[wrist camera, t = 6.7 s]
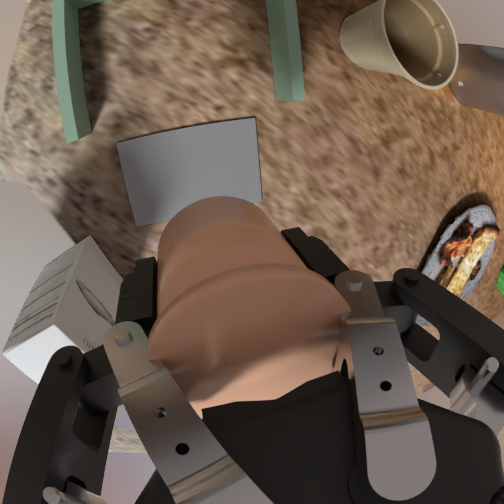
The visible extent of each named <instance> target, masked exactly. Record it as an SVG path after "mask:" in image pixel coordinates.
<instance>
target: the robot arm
mask: <svg viewBox="0 0 504 504" xmlns="http://www.w3.org/2000/svg"><path fill="white" fill-rule="evenodd" d="M458 53H459V55H458V64H457V68H456V72H455V74H454V76H453V78H452V79H451V81H450V82H449V84H450V87H451V90H452V92H453V94H454V96H455V97H456V99H457V100H458V101H459V102H460V103H461V104H463V105H464V106H468V107H472V108H476V109H480V110H483V111H486V112H490V113H493V114H496V115H500V116H503V117H504V48H499V47H491V46H483V45H473V44H458ZM281 234H282V235H283V237H284V238H285V239H286V241H287V242H288V243H289V244H290V246H291V247H292V248H293V250H294V251H295V252H296V254H297V255H298V256H299V258H300V259H301V260H302V262H303V263H304V264H305V266H306V267H307V268H308V269H309V270H312V271H314V272H316V273H318V274H320V275H321V276H323V277H325V278H326V279H327V280H328V281H329V282H331V283H332V284H333V286H334V287H335V288H336V289H337V290H338V292H339V293H340V294H341V296H342V297H343V298H344V299H345V301H346V302H347V303H348V305H349V307H350V309H351V311H348V312H345V313H342V314H340V318H339V324H338V328H339V347H338V352H337V357H336V358H335V359H332V362H331V367H330V369H331V373H329V374H326V375H324V376H321V377H318V378H315V379H312V380H309V381H307V382H305V383H303V384H302V385H300V386H298V387H297V388H295V389H293V390H292V391H290V392H288V393H286V394H285V395H283V396H281V397H279V398H277V399H274V400H260V401H236V402H231V403H227V404H222V405H218V406H213V407H208V408H203V409H201V410H202V415H203V419H201V418H200V417H199V416H198V414H197V413H196V411H195V410H194V409H193V407H192V406H191V404H190V403H189V401H188V400H187V398H186V397H185V395H184V394H183V393H182V391H181V390H180V388H179V386H178V385H177V383H176V382H175V380H174V379H173V377H172V376H171V374H170V373H169V371H168V369H167V368H166V367H165V366H164V365H163V364H162V362H161V361H160V359H156V360H150V361H148V353H147V343H148V338H149V334H150V332H151V329H152V327H153V325H154V323H155V321H156V320H157V261H156V259H155V257H149V258H144V259H140V260H137V261H136V269H135V273H133V274H128V275H127V276H126V277H125V278H124V280H123V281H122V283H121V286H120V294H119V299H118V300H119V301H118V305H117V312H116V319H115V325H114V326H112V327H111V328H110V329H109V330H108V331H107V332H106V334H105V335H104V338H103V344H102V345H101V346H99V347H97V348H95V349H92V350H90V351H88V352H86V353H82V351H81V350H80V349H79V348H78V347H76V346H72V345H69V346H65V347H62V348H60V349H58V350H57V351H56V352H55V353H54V354H53V355H52V356H51V358H50V360H49V362H48V364H47V366H46V369H45V371H44V373H43V375H42V378H41V380H40V383H39V385H38V388H37V390H36V392H35V395H34V397H33V400H32V403H31V405H30V408H29V410H28V413H27V416H26V419H25V421H24V425H23V427H22V430H21V433H20V436H19V439H18V443H17V446H16V449H15V452H14V456H13V459H12V463H11V467H10V471H9V475H8V479H7V483H6V488H5V493H4V498H3V503H2V504H106V502H105V501H104V499H103V498H102V497H101V490H102V483H103V477H104V471H105V466H106V460H107V455H108V450H109V445H110V440H111V435H112V430H113V426H114V421H115V417H116V412H117V408H118V406H119V405H122V404H124V406H125V409H126V411H127V413H128V415H129V418H130V420H131V421H132V424H133V426H134V428H135V430H136V432H137V434H138V436H139V438H140V440H141V442H142V443H143V445H144V447H145V449H146V451H147V453H148V455H149V456H150V458H151V460H152V462H153V463H154V465H155V467H156V470H155V472H154V473H153V475H152V477H151V478H150V480H149V481H148V483H147V485H146V486H145V488H144V489H143V491H142V492H141V494H140V496H139V497H138V499H137V500H136V502H135V504H504V473H503V469H502V461H501V450H500V445H499V441H498V439H497V435H498V434H499V432H500V431H501V429H502V427H503V426H504V330H503V329H502V328H501V327H499V326H498V325H496V324H495V323H494V322H492V321H491V320H490V319H488V318H487V317H486V316H484V315H483V314H482V313H480V312H479V311H477V310H476V309H475V308H473V307H472V306H470V305H469V304H468V303H466V302H465V301H463V300H462V299H460V298H459V297H457V296H456V295H455V294H453V293H452V292H450V291H449V290H447V289H446V288H444V287H443V286H441V285H440V284H438V283H437V282H435V281H434V280H432V279H431V278H429V277H428V276H426V275H425V274H423V273H421V272H420V271H418V270H415V269H411V268H402V269H399V270H397V271H396V272H395V273H394V276H393V280H392V281H383V282H373V280H372V278H371V277H370V276H369V275H367V274H365V273H363V272H360V271H355V270H350V269H349V268H348V267H347V266H346V265H345V264H344V263H343V262H342V261H341V260H340V259H339V258H338V257H337V256H336V254H334V252H333V251H332V250H331V249H329V247H328V246H327V245H326V244H325V243H324V242H323V241H322V240H320V239H318V238H316V237H314V236H310V237H308V236H307V235H306V234H305V233H304V232H303V231H302V230H301V229H300V228H299V227H296V228H291V229H286V230H282V231H281ZM418 314H419V315H420V316H421V317H423V318H424V319H425V320H427V321H428V322H429V323H431V324H432V325H433V326H435V327H436V328H437V329H438V331H439V333H440V340H437V339H436V338H435V337H433V336H432V335H431V334H430V333H428V332H427V331H426V330H425V329H423V328H422V327H421V326H419V325H418V324H417V323H416V320H417V317H418ZM408 362H409V363H410V364H412V365H413V366H414V367H415V368H416V369H417V370H418V371H420V372H421V373H422V374H423V375H424V376H425V377H426V378H427V379H429V380H430V381H431V382H432V383H433V384H434V385H435V386H436V387H438V388H439V389H440V390H441V391H442V392H444V394H445V395H447V396H448V397H449V398H450V403H451V406H450V410H448V409H445V408H442V407H440V406H436V405H434V404H431V403H429V402H426V401H423V400H420V399H418V398H417V396H416V391H415V387H414V383H413V380H412V376H411V372H410V368H409V365H408ZM76 411H77V412H76ZM75 414H76V415H75ZM74 417H75V418H74ZM73 421H74V422H73Z"/></svg>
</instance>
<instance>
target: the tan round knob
mask: <svg viewBox="0 0 504 504" xmlns="http://www.w3.org/2000/svg"><path fill="white" fill-rule="evenodd" d="M348 311H351V309H350V307H349V305H348V303H347V302H346V301H345V299H344V298H343V297H342V296H341V294H340V293H339V292H338V290H337V289H336V288H335V287H334V286H333V284H332V283H331V282H329V281H328V280H327V279H326V278H325V277H323V276H321V275H320V274H318V273H316V272H314V271H312V270H309V269H308V268H307V267H306V266H305V264H304V263H303V262H302V260H301V259H300V258H299V256H298V255H297V254H296V252H295V251H294V250H293V248H292V247H291V246H290V244H289V243H288V242H287V241H286V239H285V238H284V237H283V235H282V234H281V233H280V231H279V230H278V229H277V227H276V226H275V225H274V224H273V222H272V221H271V220H270V218H269V217H268V216H267V215H266V214H265V213H264V211H262V210H261V209H260V208H259V207H257V206H256V205H254V204H253V203H251V202H249V201H246V200H244V199H240V198H237V197H230V196H216V197H209V198H205V199H201V200H199V201H196V202H194V203H192V204H190V205H188V206H186V207H185V208H183V209H182V210H181V211H179V212H178V213H177V214H176V215H175V216H174V217H173V218H172V219H171V220H170V221H169V223H168V224H167V226H166V227H165V229H164V231H163V233H162V235H161V238H160V241H159V245H158V255H157V320H156V321H155V323H154V325H153V327H152V329H151V332H150V334H149V338H148V343H147V353H148V361H150V360H156V359H160V361H161V362H162V364H163V365H164V366H165V367H166V368H167V369H168V371H169V373H170V374H171V376H172V377H173V379H174V380H175V382H176V383H177V385H178V386H179V388H180V390H181V391H182V393H183V394H184V395H185V397H186V398H187V400H188V401H189V403H190V404H191V406H192V407H193V409H194V410H195V411H196V413H197V414H198V416H202V417H203V415H202V410H201V409H203V408H208V407H213V406H218V405H222V404H227V403H231V402H236V401H260V400H274V399H277V398H279V397H281V396H283V395H285V394H286V393H288V392H290V391H292V390H293V389H295V388H297V387H298V386H300V385H302V384H303V383H305V382H307V381H309V380H312V379H315V378H318V377H321V376H324V375H326V374H329V373H331V369H330V367H331V362H332V359H335V358H336V357H337V352H338V347H339V328H338V324H339V318H340V314H342V313H345V312H348Z"/></svg>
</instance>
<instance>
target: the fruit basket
mask: <svg viewBox="0 0 504 504" xmlns="http://www.w3.org/2000/svg"><path fill="white" fill-rule="evenodd" d="M496 285H497V286H498V288H499V289H500V291H501V293H502V294H503V296H504V268H502V269H501V270H500V274H499V276H498V280H497V283H496Z"/></svg>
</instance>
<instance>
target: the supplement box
mask: <svg viewBox="0 0 504 504" xmlns="http://www.w3.org/2000/svg"><path fill="white" fill-rule="evenodd" d="M123 280H124V279H123V278H122V277H121V276H120V275H119V274H118V272H117V271H116V270H115V269H114V267H113V266H112V265H111V263H110V262H109V261H108V259H107V258H106V257H105V255H104V254H103V252H102V251H101V250H100V248H99V247H98V245H97V244H96V242H95V241H94V239H93V238H92V236H91V235H89V236H88V237H86V238H85V239H84V240H82V241H80V242H79V243H78V244H76V245H75V246H73V247H72V248H70V249H69V250H67V251H66V252H64V253H63V254H61V255H60V256H58V257H57V258H56V259H54V260H53V261H52V262H50V263H49V264H47V265H46V266H45V267H44V268H43V270H42V272H41V273H40V275H39V277H38V279H37V280H36V282H35V284H34V286H33V288H32V289H31V291H30V293H29V295H28V297H27V299H26V301H25V303H24V305H23V307H22V309H21V312H20V314H19V316H18V318H17V320H16V323H15V325H14V327H13V329H12V332H11V334H10V336H9V338H8V340H7V343H6V345H5V347H4V349H3V351H2V353H3V355H4V356H5V357H6V358H7V359H8V360H10V361H11V362H12V363H13V364H14V365H15V366H16V367H18V368H19V369H20V370H21V371H22V372H24V373H25V374H26V375H27V376H28V377H30V378H31V379H32V380H33V381H34V382H36V383H37V384H38V385H39V383H40V380H41V378H42V375H43V373H44V371H45V369H46V366H47V364H48V362H49V360H50V358H51V356H52V355H53V354H54V353H55V352H56V351H57V350H58V349H60V348H62V347H65V346H69V345H72V346H76V347H78V348H79V349H80V350H81V351H82V353H86V352H88V351H90V350H92V349H95V348H97V347H99V346H101V345H102V344H103V338H104V335H105V334H106V332H107V331H108V330H109V329H110V328H111V327H112V326H114V325H115V319H116V312H117V305H118V301H119V300H118V299H119V294H120V286H121V283H122V281H123Z"/></svg>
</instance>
